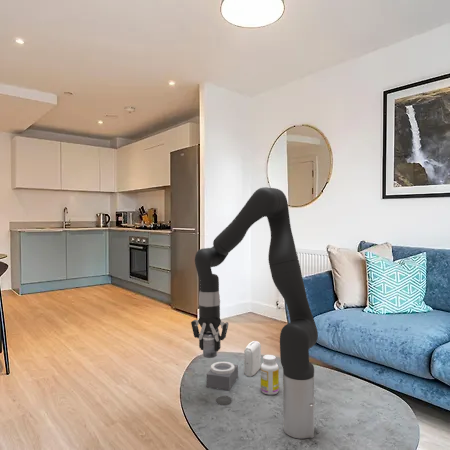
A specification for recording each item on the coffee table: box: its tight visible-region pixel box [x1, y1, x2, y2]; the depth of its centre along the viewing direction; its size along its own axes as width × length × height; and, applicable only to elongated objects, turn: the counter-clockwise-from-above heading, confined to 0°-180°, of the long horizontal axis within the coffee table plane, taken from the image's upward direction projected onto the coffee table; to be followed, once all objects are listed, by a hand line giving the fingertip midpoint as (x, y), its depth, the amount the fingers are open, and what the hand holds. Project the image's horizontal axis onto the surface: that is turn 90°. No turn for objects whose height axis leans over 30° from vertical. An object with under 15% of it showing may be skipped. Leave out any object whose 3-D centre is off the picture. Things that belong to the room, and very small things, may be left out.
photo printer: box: [243, 340, 262, 377], centre depth 153 cm, size 10×4×12 cm, turn 152°
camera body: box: [206, 361, 239, 391], centre depth 143 cm, size 9×12×6 cm
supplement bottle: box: [260, 354, 280, 396], centre depth 135 cm, size 7×7×13 cm
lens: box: [202, 331, 218, 359], centre depth 132 cm, size 5×5×8 cm
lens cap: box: [215, 395, 233, 406], centre depth 128 cm, size 6×6×1 cm
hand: (209, 349), depth 132 cm, fingers closed on lens, 5 cm apart
